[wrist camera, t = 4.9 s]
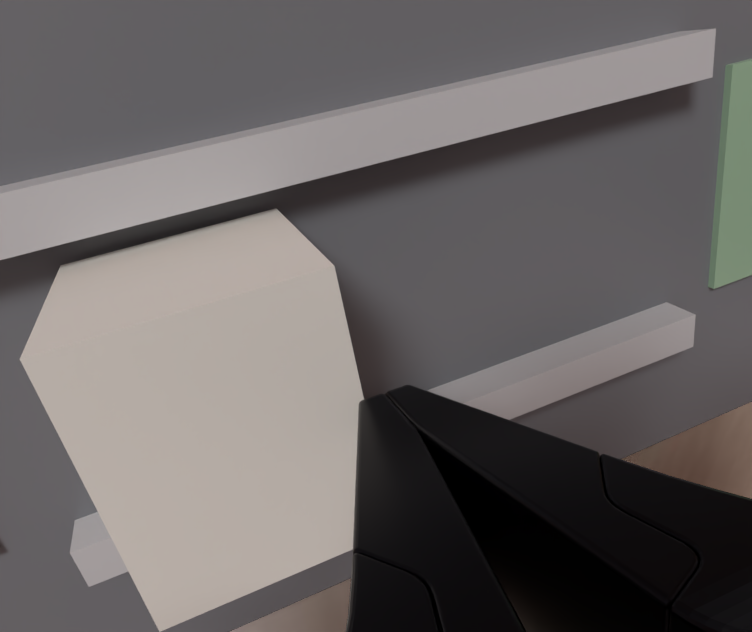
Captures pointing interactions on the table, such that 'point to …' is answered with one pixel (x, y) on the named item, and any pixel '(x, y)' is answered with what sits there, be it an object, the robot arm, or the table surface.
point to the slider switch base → (386, 219)
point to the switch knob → (206, 407)
